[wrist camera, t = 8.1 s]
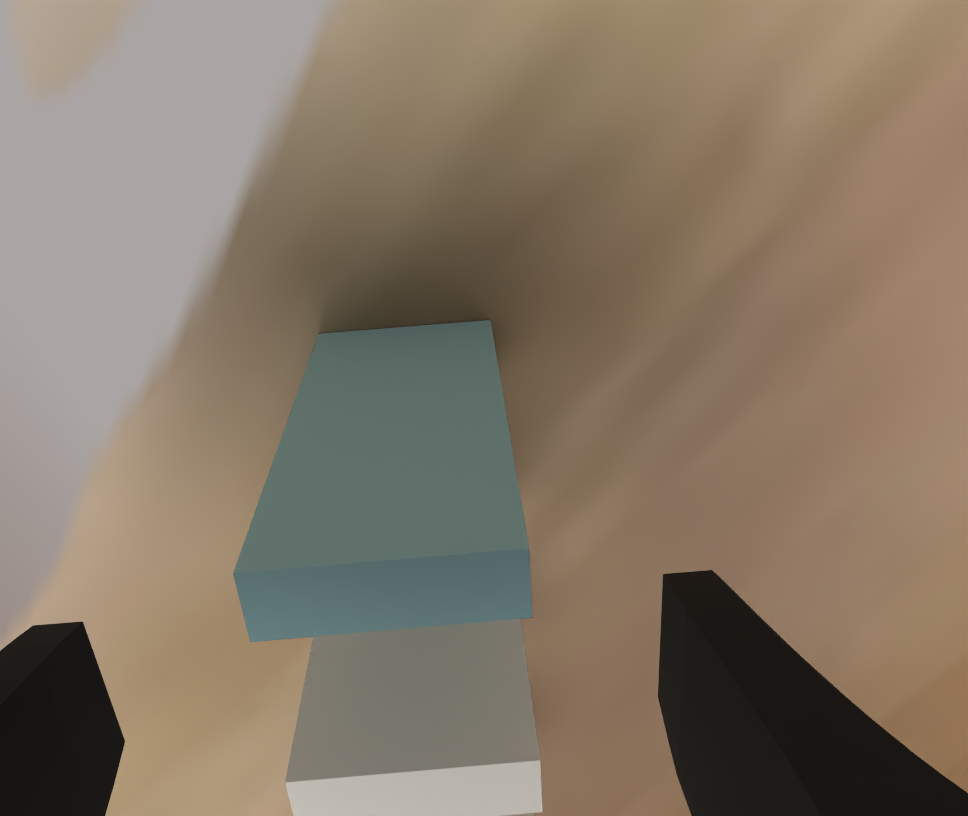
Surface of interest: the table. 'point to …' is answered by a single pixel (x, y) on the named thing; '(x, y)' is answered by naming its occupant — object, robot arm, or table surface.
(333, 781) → the domino
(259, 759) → the table surface
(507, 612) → the teal domino
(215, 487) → the table surface
